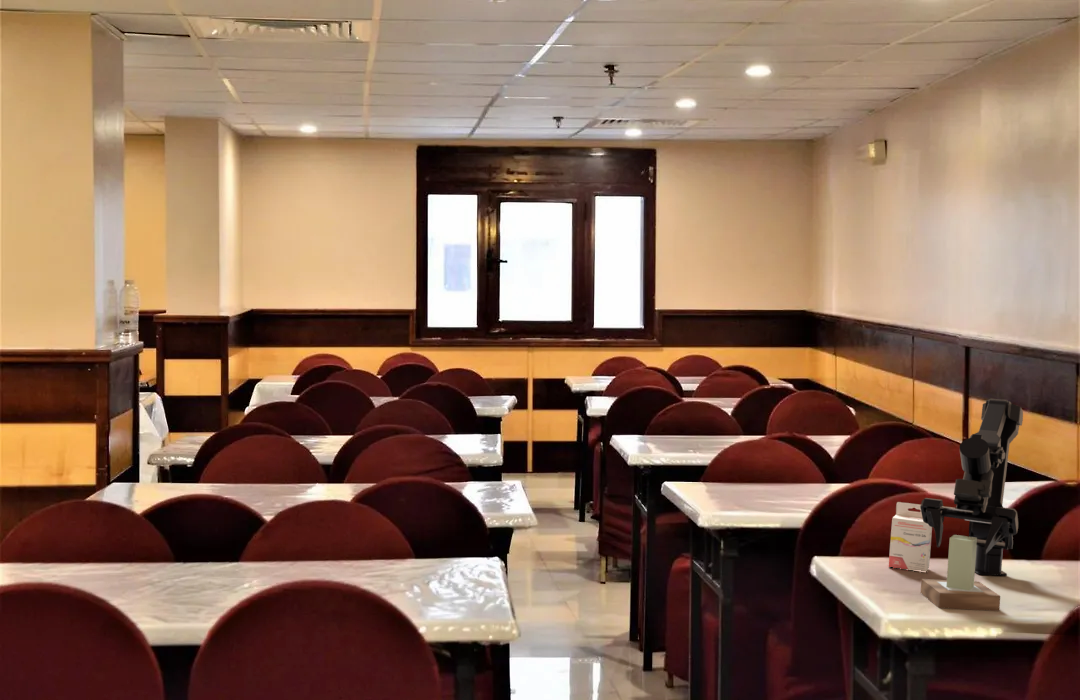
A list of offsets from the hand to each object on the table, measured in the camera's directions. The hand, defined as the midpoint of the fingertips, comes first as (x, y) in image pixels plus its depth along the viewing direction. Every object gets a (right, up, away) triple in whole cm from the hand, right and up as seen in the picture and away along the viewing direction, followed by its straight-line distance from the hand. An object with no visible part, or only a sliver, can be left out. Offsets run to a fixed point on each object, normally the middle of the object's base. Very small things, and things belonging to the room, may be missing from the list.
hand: (961, 549), depth 245 cm
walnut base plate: (0, -11, +2) cm, 11 cm away
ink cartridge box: (-1, -10, +31) cm, 33 cm away
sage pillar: (0, -8, +2) cm, 8 cm away
